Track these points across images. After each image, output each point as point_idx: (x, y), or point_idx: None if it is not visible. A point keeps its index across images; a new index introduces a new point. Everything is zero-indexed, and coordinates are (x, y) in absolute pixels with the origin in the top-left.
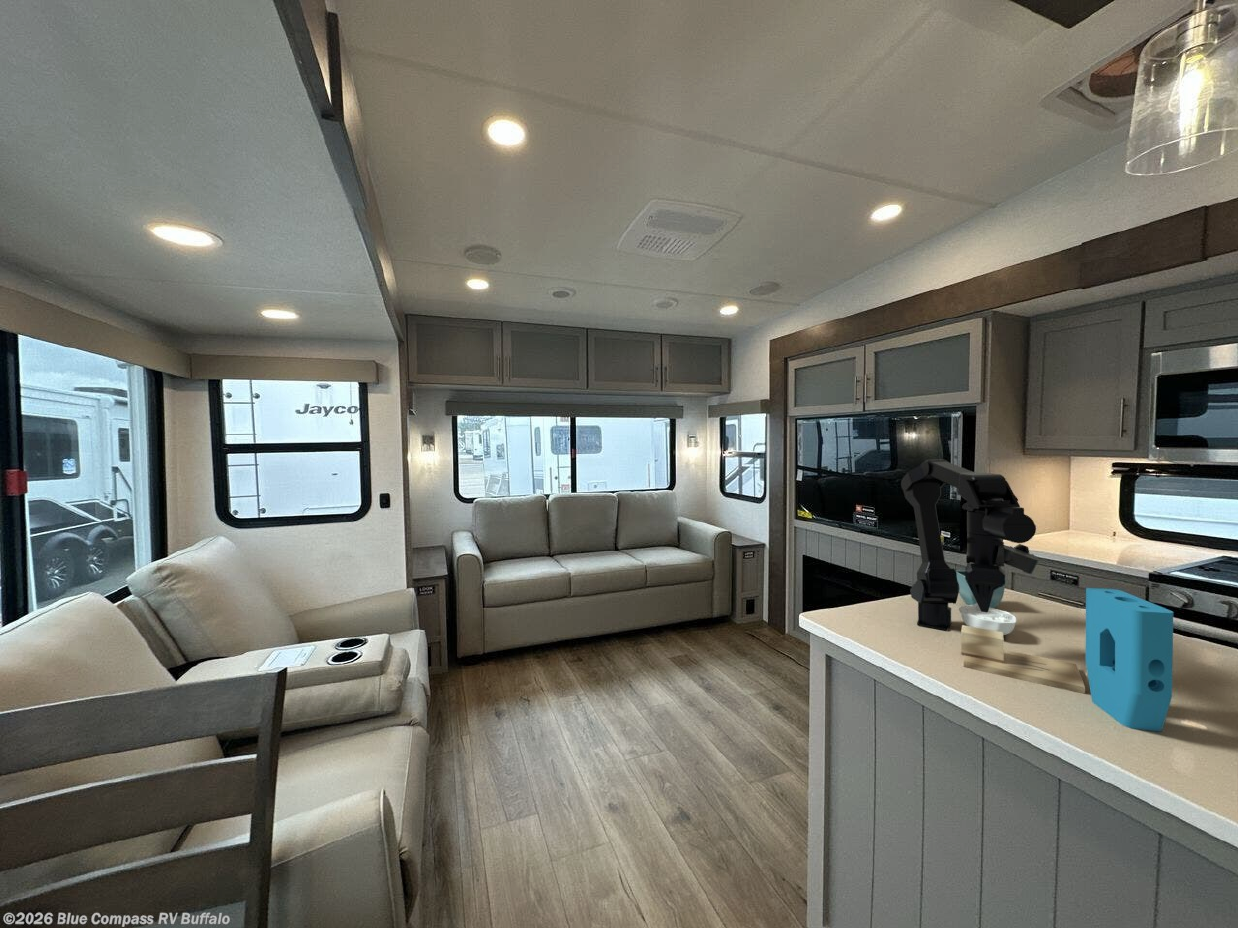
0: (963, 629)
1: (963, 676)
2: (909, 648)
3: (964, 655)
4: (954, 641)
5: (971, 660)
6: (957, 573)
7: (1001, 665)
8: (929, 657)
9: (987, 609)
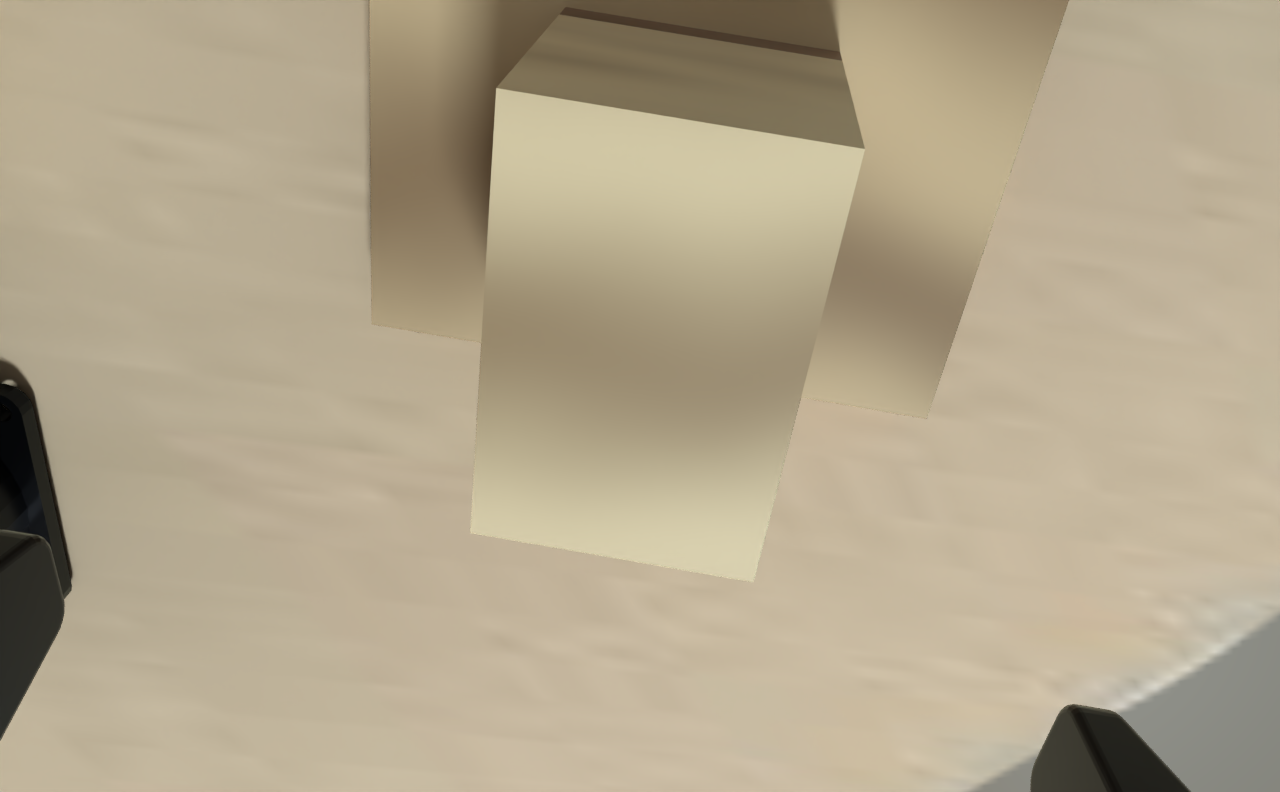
0: (642, 545)
1: (1154, 419)
2: (673, 692)
3: None
4: (280, 365)
5: (882, 350)
6: None
7: (915, 86)
8: (808, 594)
9: (1168, 781)
